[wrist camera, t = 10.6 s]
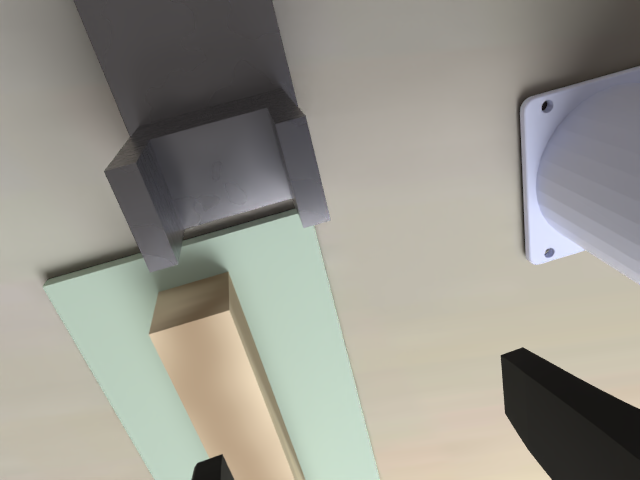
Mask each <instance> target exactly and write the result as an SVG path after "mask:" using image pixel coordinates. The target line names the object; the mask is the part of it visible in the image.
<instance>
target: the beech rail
mask: <svg viewBox="0 0 640 480" xmlns="http://www.w3.org/2000/svg"><path fill="white" fill-rule="evenodd" d="M149 336H150V338H151V340H152V342H153V344H154V347H155V349H156V351H157V353H158V355H159V357H160V359H161V361H162V363H163V365H164V367H165V369H166V371H167V373H168V375H169V377H170V379H171V381H172V383H173V385H174V387H175V389H176V391H177V393H178V395H179V397H180V399H181V401H182V403H183V405H184V408H185V410H186V412H187V414H188V416H189V418H190V420H191V422H192V424H193V426H194V428H195V430H196V432H197V434H198V436H199V438H200V440H201V442H202V444H203V446H204V448H205V450H206V452H207V454H208V456H209V458H212V457H215V456H218V455H221V454H223V456H224V458H225V461H226V463H227V465H228V467H229V469H230V471H231V473H232V476H233V478H234V480H305V477H304V474H303V472H302V469H301V466H300V464H299V461H298V458H297V455H296V453H295V450H294V447H293V445H292V442H291V439H290V437H289V434H288V431H287V428H286V426H285V423H284V420H283V418H282V415H281V412H280V410H279V407H278V404H277V401H276V399H275V396H274V393H273V391H272V388H271V385H270V383H269V380H268V377H267V374H266V372H265V369H264V366H263V364H262V361H261V358H260V355H259V353H258V350H257V347H256V345H255V342H254V339H253V337H252V334H251V331H250V328H249V326H248V323H247V320H246V318H245V315H244V312H243V310H242V307H241V304H240V301H239V299H238V296H237V293H236V291H235V288H234V285H233V283H232V280H231V277H230V274H229V272H225V273H222V274H218V275H215V276H212V277H208V278H205V279H201V280H198V281H195V282H191V283H188V284H185V285H181V286H178V287H174V288H171V289H168V290H164V291H161V292H158V296H157V301H156V305H155V309H154V313H153V318H152V322H151V326H150V331H149Z"/></svg>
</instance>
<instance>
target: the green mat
mask: <svg viewBox="0 0 640 480" xmlns="http://www.w3.org/2000/svg"><path fill="white" fill-rule="evenodd" d="M225 272H229V274H230V277H231V280H232V283H233V285H234V288H235V291H236V293H237V296H238V299H239V301H240V304H241V307H242V310H243V312H244V315H245V318H246V320H247V323H248V326H249V328H250V331H251V334H252V337H253V339H254V342H255V345H256V347H257V350H258V353H259V355H260V358H261V361H262V364H263V366H264V369H265V372H266V374H267V377H268V380H269V383H270V385H271V388H272V391H273V393H274V396H275V399H276V401H277V404H278V407H279V410H280V412H281V415H282V418H283V420H284V423H285V426H286V428H287V431H288V434H289V437H290V439H291V442H292V445H293V447H294V450H295V453H296V455H297V458H298V461H299V464H300V466H301V469H302V472H303V474H304V477H305V480H380V478H379V474H378V470H377V466H376V462H375V458H374V455H373V451H372V447H371V443H370V439H369V435H368V431H367V428H366V424H365V420H364V416H363V412H362V408H361V405H360V401H359V397H358V393H357V389H356V385H355V381H354V378H353V374H352V370H351V366H350V362H349V358H348V355H347V351H346V347H345V343H344V339H343V335H342V331H341V328H340V324H339V320H338V316H337V312H336V308H335V305H334V301H333V297H332V293H331V289H330V285H329V281H328V278H327V274H326V270H325V266H324V262H323V258H322V255H321V251H320V247H319V243H318V239H317V235H316V231H315V228H314V225H313V226H310V227H306V228H303V226H302V223H301V221H300V218H299V215H298V213H297V210H296V209H292V210H289V211H285V212H282V213H278V214H275V215H271V216H268V217H264V218H261V219H257V220H254V221H250V222H247V223H243V224H240V225H236V226H233V227H229V228H226V229H222V230H219V231H215V232H212V233H208V234H205V235H201V236H198V237H194V238H191V239H187V240H184V241H182V247H181V253H180V258H179V264H178V265H175V266H171V267H168V268H165V269H161V270H158V271H154V272H151V273H150V272H149V269H148V267H147V265H146V263H145V260H144V258H143V256H142V254H141V253H139V254H135V255H132V256H128V257H125V258H121V259H118V260H114V261H111V262H107V263H104V264H100V265H97V266H93V267H90V268H86V269H83V270H79V271H76V272H72V273H69V274H65V275H62V276H58V277H55V278H51V279H48V280H47V281H46V283H45V284H44V286H43V288H44V290H45V292H46V294H47V295H48V297H49V299H50V301H51V302H52V304H53V306H54V307H55V309H56V311H57V313H58V314H59V316H60V318H61V319H62V321H63V323H64V325H65V326H66V328H67V330H68V332H69V333H70V335H71V337H72V338H73V340H74V342H75V344H76V345H77V347H78V349H79V351H80V352H81V354H82V356H83V357H84V359H85V361H86V363H87V364H88V366H89V368H90V369H91V371H92V373H93V375H94V376H95V378H96V380H97V382H98V383H99V385H100V387H101V388H102V390H103V392H104V394H105V395H106V397H107V399H108V400H109V402H110V404H111V406H112V407H113V409H114V411H115V413H116V414H117V416H118V418H119V419H120V421H121V423H122V425H123V426H124V428H125V430H126V431H127V433H128V435H129V437H130V438H131V440H132V442H133V444H134V445H135V447H136V449H137V450H138V452H139V454H140V456H141V457H142V459H143V461H144V462H145V464H146V466H147V468H148V469H149V471H150V473H151V475H152V476H153V478H154V480H191V479H192V475H193V471H194V467H195V466H196V464H197V463H198V462H201V461H204V460H207V459H210V458H209V456H208V454H207V452H206V450H205V448H204V446H203V444H202V442H201V440H200V438H199V436H198V434H197V432H196V430H195V428H194V426H193V424H192V422H191V420H190V418H189V416H188V414H187V412H186V410H185V408H184V405H183V403H182V401H181V399H180V397H179V395H178V393H177V391H176V389H175V387H174V385H173V383H172V381H171V379H170V377H169V375H168V373H167V371H166V369H165V367H164V365H163V363H162V361H161V359H160V357H159V355H158V353H157V351H156V349H155V347H154V344H153V342H152V340H151V338H150V336H149V331H150V326H151V322H152V318H153V313H154V309H155V305H156V301H157V296H158V292H161V291H164V290H168V289H171V288H174V287H178V286H181V285H185V284H188V283H191V282H195V281H198V280H201V279H205V278H208V277H212V276H215V275H218V274H222V273H225Z"/></svg>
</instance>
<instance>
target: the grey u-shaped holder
mask: <svg viewBox="0 0 640 480" xmlns="http://www.w3.org/2000/svg"><path fill="white" fill-rule="evenodd" d="M74 2H75V4H76V7H77V9H78V12H79V14H80V17H81V19H82V21H83V24H84V26H85V29H86V31H87V34H88V36H89V38H90V41H91V43H92V46H93V48H94V50H95V53H96V55H97V58H98V60H99V63H100V65H101V67H102V70H103V72H104V75H105V77H106V79H107V82H108V84H109V87H110V89H111V92H112V94H113V96H114V99H115V101H116V104H117V106H118V108H119V111H120V113H121V116H122V118H123V121H124V123H125V125H126V128H127V130H128V133H129V135H130V138H129V139H128V141H127V142H126V143H125V145H124V146H123V147H122V149H121V150H120V151H119V152H118V154H117V155H116V156H115V158H114V159H113V160H112V162H111V163H110V164H109V166H108V167H107V168H106V169H105V171H104V172H105V174H106V177H107V179H108V181H109V183H110V185H111V188H112V190H113V192H114V194H115V197H116V199H117V201H118V203H119V205H120V208H121V210H122V212H123V214H124V216H125V219H126V221H127V223H128V225H129V227H130V230H131V232H132V234H133V236H134V238H135V241H136V243H137V245H138V247H139V249H140V252H141V254H142V256H143V258H144V260H145V263H146V265H147V267H148V269H149V272H150V273H151V272H154V271H158V270H161V269H165V268H168V267H171V266H175V265H178V264H179V258H180V253H181V247H182V241H183V236H184V230H185V229H187V228H190V227H194V226H197V225H201V224H204V223H208V222H211V221H215V220H218V219H222V218H225V217H229V216H232V215H236V214H239V213H243V212H246V211H250V210H253V209H257V208H260V207H264V206H267V205H271V204H274V203H278V202H281V201H285V200H288V199H292V200H293V202H294V205H295V207H296V210H297V213H298V215H299V218H300V221H301V223H302V226H303V228H306V227H310V226H313V225H316V224H320V223H323V222H327V221H330V215H329V211H328V207H327V203H326V199H325V195H324V191H323V186H322V182H321V178H320V174H319V170H318V166H317V162H316V157H315V153H314V149H313V145H312V141H311V137H310V133H309V128H308V124H307V120H306V116H305V115H304V114H303V112H302V111H301V110H300V109H299V108H298V105H297V101H296V97H295V92H294V88H293V84H292V80H291V76H290V72H289V68H288V64H287V60H286V56H285V52H284V48H283V44H282V40H281V36H280V32H279V27H278V23H277V19H276V15H275V11H274V7H273V3H272V0H74Z"/></svg>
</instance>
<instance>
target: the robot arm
mask: <svg viewBox="0 0 640 480" xmlns="http://www.w3.org/2000/svg"><path fill="white" fill-rule="evenodd" d="M545 101H547V103H548V104H547V107H546V109H545V110H543V111H542V109H541V108H542V104H543V103H544V102H545ZM520 124H521V149H522V174H523V199H524V224H525V249H526V258H527V260H528V261H530V262H531V263H532V264H535V265H538V264H542V263H545V262H549V261H552V260H555V259H558V258H562V257H565V256H568V255H572V254H575V253H578V252H581V251H585V250H586V251H588V252H589V253H591V254H592V255H594V256H596V257H597V258H599V259H600V260H602V261H603V262H605V263H606V264H608V265H610V266H611V267H613V268H614V269H616V270H617V271H619V272H620V273H622V274H624V275H625V276H627V277H628V278H630V279H631V280H633V281H634V282H636V283H638V284H639V285H640V66H637V67H634V68H630V69H627V70H623V71H620V72H616V73H612V74H609V75H605V76H602V77H598V78H595V79H591V80H587V81H584V82H580V83H577V84H573V85H570V86H566V87H562V88H559V89H555V90H552V91H548V92H545V93H541V94H538V95H534V96H531V97H529V98H527V99H526V100H525V101H524V102H523V103H522V105H521V108H520ZM549 248H550V249H549ZM547 249H549V251H548V252H547V253H546V254H545V251H546V250H547ZM501 365H502V378H503V391H504V405H505V414H506V415H507V417H508V419H509V420H510V422H511V424H512V425H513V427H514V428H515V430H516V432H517V433H518V435H519V436H520V438H521V439H522V441H523V442H524V444H525V445H526V447H527V449H528V450H529V451H530V453H531V454H532V455H533V456H534V458H535V459H536V460H537V461H538V463H539V464H540V465H541V466H542V468H543V469H544V470H545V471H546V473H547V474H548V475H549V476H550V478H551V479H552V480H640V409H638V408H636V407H634V406H632V405H630V404H628V403H626V402H624V401H622V400H619V399H617V398H616V397H614V396H612V395H610V394H608V393H606V392H604V391H602V390H600V389H598V388H596V387H594V386H592V385H590V384H589V383H587V382H585V381H583V380H581V379H579V378H577V377H576V376H574V375H572V374H570V373H568V372H566V371H565V370H563V369H561V368H559V367H557V366H556V365H554V364H552V363H550V362H548V361H547V360H545V359H543V358H541V357H539V356H538V355H536V354H534V353H532V352H530V351H529V350H527V349H525V348H520V349H517V350H514V351H511V352H508V353H506V354H503V355H501ZM191 480H234V478H233V476H232V473H231V471H230V469H229V467H228V465H227V463H226V461H225V458H224V456H223V454H221V455H218V456H215V457H212V458H210V459H207V460H204V461H201V462H198V463H197V464H196V466H195V467H194V471H193V475H192V479H191Z"/></svg>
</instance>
